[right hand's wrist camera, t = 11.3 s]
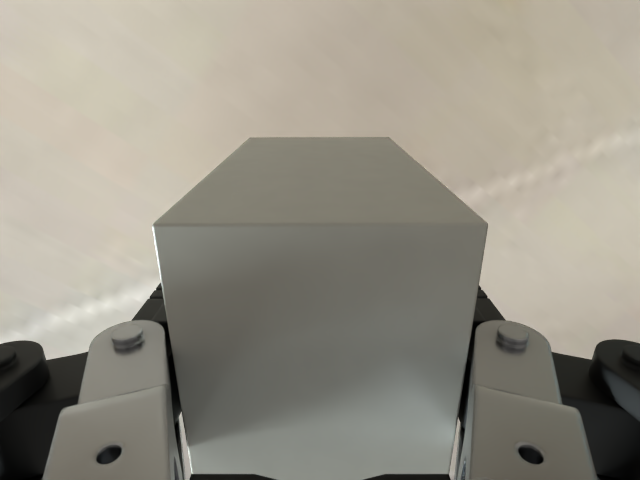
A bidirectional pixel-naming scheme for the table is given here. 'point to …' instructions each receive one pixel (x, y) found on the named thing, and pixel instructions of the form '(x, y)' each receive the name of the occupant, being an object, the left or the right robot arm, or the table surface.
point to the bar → (320, 310)
